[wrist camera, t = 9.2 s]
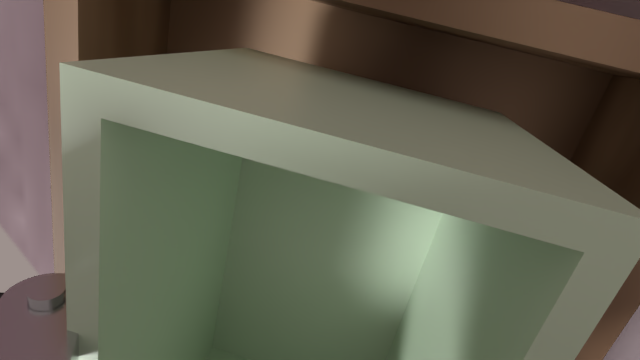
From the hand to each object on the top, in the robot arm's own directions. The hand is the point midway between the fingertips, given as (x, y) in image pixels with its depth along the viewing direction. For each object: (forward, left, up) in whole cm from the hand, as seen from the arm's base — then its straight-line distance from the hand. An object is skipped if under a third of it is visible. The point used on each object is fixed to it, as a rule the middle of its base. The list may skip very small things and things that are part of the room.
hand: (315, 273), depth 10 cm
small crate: (0, 0, -1) cm, 1 cm away
